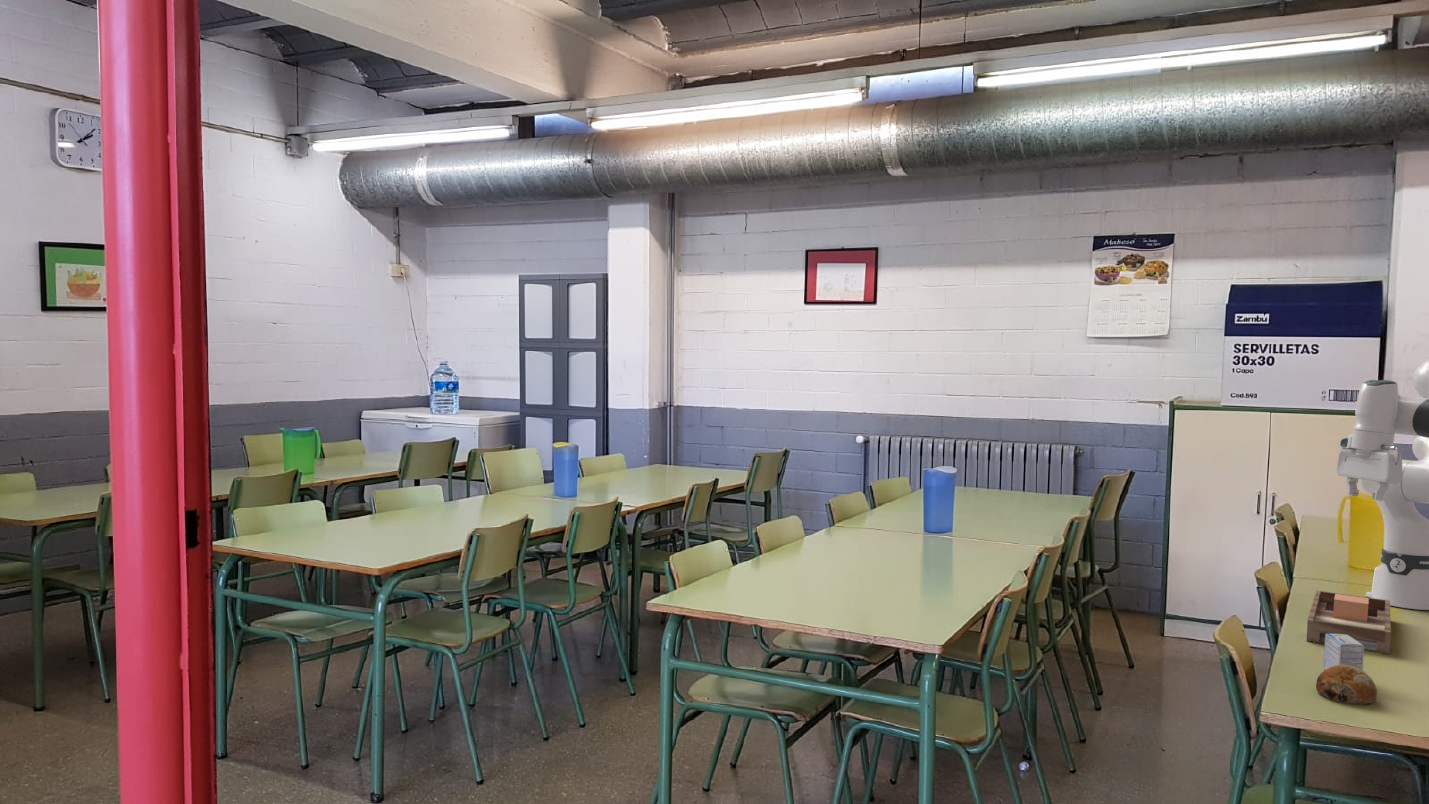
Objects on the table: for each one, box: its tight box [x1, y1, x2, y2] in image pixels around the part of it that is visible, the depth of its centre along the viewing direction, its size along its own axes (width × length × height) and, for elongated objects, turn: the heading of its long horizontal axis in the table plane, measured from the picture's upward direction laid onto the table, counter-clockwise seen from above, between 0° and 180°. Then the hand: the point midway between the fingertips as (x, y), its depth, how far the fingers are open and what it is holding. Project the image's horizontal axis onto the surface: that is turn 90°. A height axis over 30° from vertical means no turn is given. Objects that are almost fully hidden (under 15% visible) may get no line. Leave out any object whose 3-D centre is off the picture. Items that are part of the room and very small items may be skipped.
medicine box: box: [1322, 634, 1365, 672], centre depth 203 cm, size 8×4×9 cm, turn 168°
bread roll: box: [1315, 664, 1378, 705], centre depth 193 cm, size 10×10×8 cm
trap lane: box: [1306, 590, 1392, 655], centre depth 241 cm, size 36×16×5 cm, turn 146°
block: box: [1333, 593, 1370, 622], centre depth 244 cm, size 7×7×4 cm
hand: (1365, 498), depth 250 cm, fingers open, 8 cm apart
